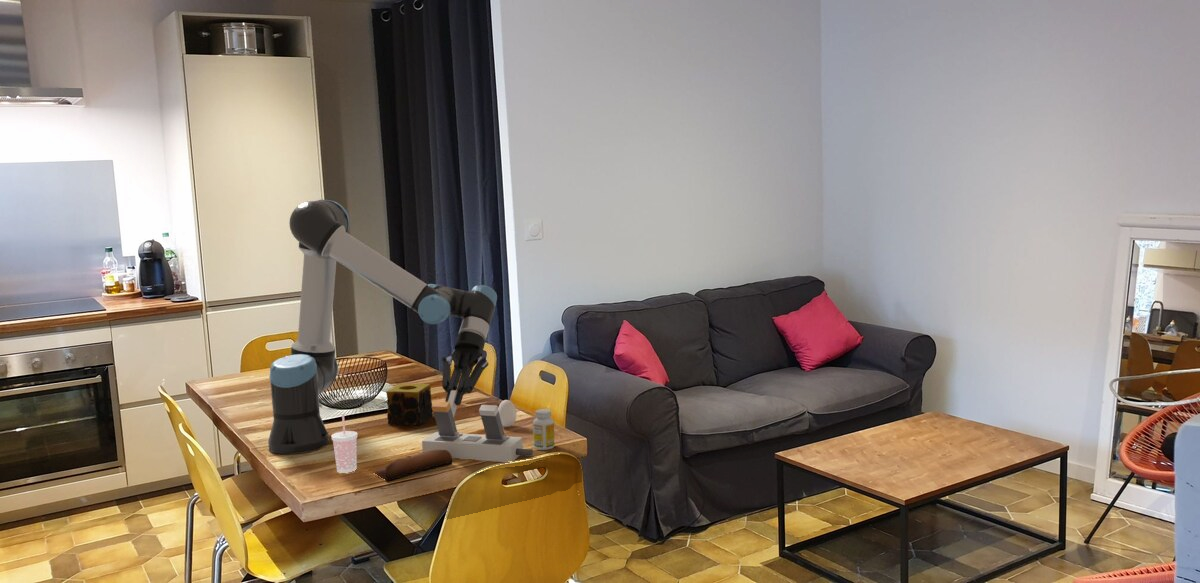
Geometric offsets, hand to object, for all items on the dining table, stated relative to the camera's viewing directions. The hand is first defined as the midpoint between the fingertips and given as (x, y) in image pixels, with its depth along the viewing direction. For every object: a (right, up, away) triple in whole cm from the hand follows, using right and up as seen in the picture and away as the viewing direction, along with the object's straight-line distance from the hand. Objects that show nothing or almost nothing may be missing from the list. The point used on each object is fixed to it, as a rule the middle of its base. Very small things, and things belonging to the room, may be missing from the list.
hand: (449, 415), depth 229 cm
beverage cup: (-23, -12, -10) cm, 28 cm away
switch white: (+12, -5, -3) cm, 13 cm away
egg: (+12, -7, +23) cm, 27 cm away
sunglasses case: (-7, -12, -10) cm, 18 cm away
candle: (-16, -6, +32) cm, 37 cm away
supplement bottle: (+24, -9, +4) cm, 26 cm away
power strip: (+8, -10, -1) cm, 13 cm away
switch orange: (0, -5, +1) cm, 5 cm away
